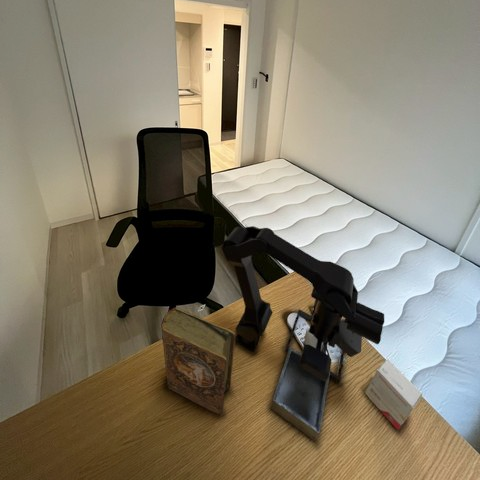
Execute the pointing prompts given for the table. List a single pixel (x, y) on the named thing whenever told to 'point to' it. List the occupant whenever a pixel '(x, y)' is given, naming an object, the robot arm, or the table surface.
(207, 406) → the book
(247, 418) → the table surface
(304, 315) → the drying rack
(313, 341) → the usb wall charger
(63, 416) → the table surface
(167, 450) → the table surface
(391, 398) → the ink box
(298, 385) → the sink
